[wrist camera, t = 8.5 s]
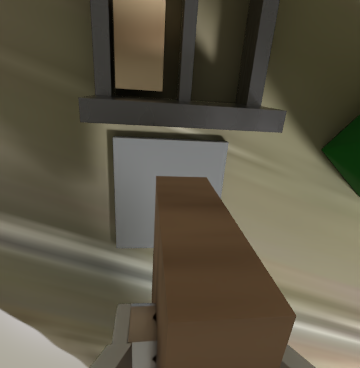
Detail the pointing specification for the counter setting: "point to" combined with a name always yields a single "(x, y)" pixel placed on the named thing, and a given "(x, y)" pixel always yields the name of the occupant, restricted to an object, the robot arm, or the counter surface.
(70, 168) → the counter surface
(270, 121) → the rack
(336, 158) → the milk carton
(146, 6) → the oak offcut
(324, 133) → the counter surface
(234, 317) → the brown flat block
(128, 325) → the robot arm
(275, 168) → the counter surface
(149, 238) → the grey mat
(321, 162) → the counter surface
